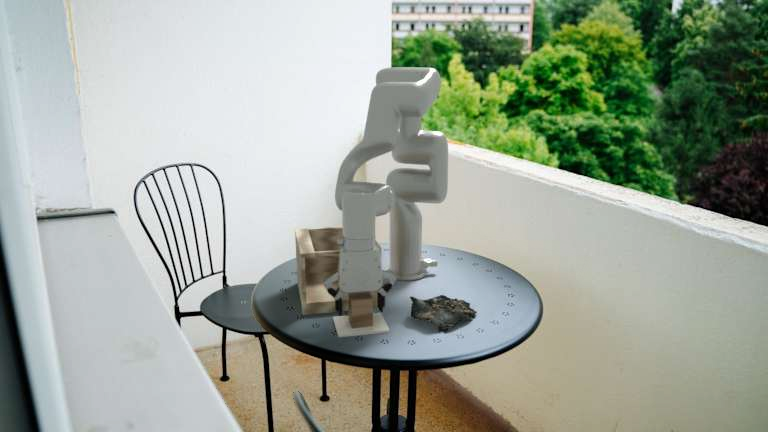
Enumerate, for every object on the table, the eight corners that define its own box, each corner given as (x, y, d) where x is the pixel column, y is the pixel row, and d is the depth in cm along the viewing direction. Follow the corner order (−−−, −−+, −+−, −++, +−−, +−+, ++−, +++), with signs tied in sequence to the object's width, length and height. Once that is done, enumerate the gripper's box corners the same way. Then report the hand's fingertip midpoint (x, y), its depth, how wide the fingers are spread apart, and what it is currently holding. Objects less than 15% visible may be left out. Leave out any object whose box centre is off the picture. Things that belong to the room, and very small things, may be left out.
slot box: (366, 277, 169) (365, 224, 165) (381, 307, 148) (381, 248, 144) (297, 283, 165) (295, 229, 161) (303, 314, 145) (300, 253, 140)
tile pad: (380, 314, 145) (380, 312, 144) (389, 332, 135) (389, 329, 135) (332, 318, 142) (332, 316, 142) (338, 337, 133) (338, 334, 133)
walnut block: (372, 326, 137) (372, 298, 135) (352, 328, 136) (351, 300, 134) (368, 317, 141) (368, 290, 140) (348, 319, 140) (348, 292, 139)
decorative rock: (432, 283, 155) (485, 289, 148) (432, 305, 156) (485, 312, 149) (398, 303, 139) (456, 311, 132) (399, 327, 140) (457, 337, 133)
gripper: (323, 250, 128) (325, 321, 132) (399, 245, 131) (399, 314, 136) (319, 240, 135) (322, 308, 140) (392, 235, 139) (392, 302, 143)
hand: (360, 311), depth 138 cm, fingers open, 9 cm apart
